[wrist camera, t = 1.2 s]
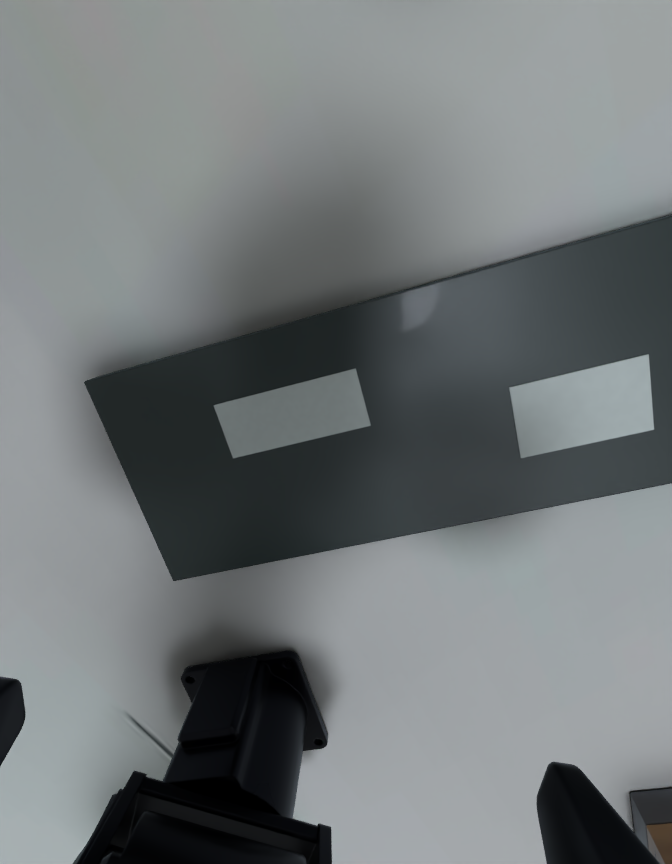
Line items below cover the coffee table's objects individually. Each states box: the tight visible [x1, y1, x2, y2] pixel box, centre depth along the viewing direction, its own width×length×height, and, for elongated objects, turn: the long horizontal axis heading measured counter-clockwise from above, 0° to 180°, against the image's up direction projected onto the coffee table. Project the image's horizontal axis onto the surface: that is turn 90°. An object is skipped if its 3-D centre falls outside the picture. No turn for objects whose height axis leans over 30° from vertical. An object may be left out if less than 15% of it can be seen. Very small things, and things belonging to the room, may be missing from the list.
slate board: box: [84, 215, 672, 581], centre depth 19 cm, size 10×26×1 cm, turn 106°
